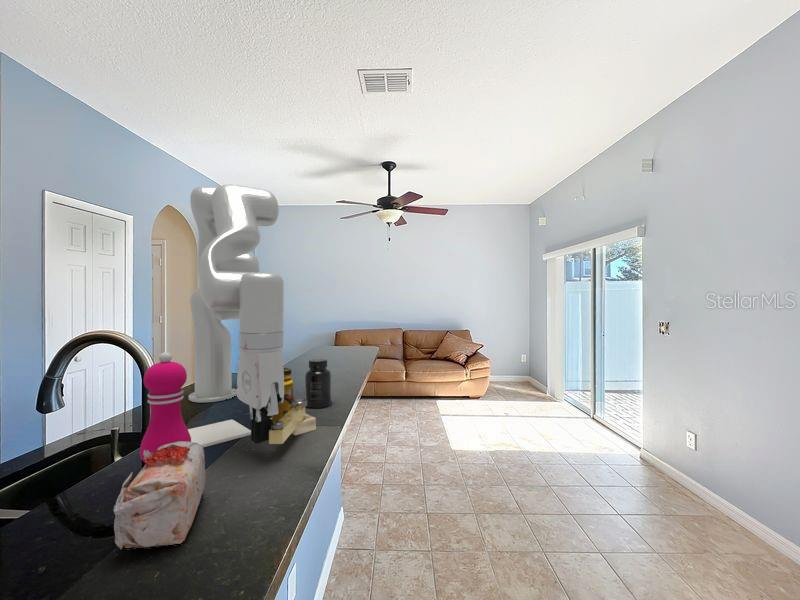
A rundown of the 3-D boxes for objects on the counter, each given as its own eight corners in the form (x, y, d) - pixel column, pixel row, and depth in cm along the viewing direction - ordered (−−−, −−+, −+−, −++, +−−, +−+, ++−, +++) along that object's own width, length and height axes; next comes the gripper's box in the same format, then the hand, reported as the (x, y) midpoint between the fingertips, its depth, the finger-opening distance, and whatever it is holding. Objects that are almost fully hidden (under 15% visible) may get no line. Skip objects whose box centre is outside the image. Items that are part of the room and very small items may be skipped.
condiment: (299, 422, 87) (298, 370, 87) (260, 429, 83) (260, 374, 82) (289, 413, 93) (288, 365, 93) (253, 420, 89) (252, 369, 88)
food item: (191, 550, 44) (190, 465, 43) (108, 567, 41) (106, 476, 41) (209, 492, 56) (208, 426, 56) (147, 501, 54) (146, 432, 54)
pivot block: (283, 429, 82) (283, 418, 82) (304, 423, 86) (303, 412, 86) (295, 435, 79) (295, 423, 79) (316, 429, 82) (315, 418, 82)
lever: (266, 443, 67) (266, 424, 67) (294, 414, 84) (294, 399, 84) (284, 443, 67) (284, 424, 67) (308, 414, 84) (308, 399, 84)
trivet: (178, 434, 80) (178, 431, 80) (232, 421, 87) (232, 419, 87) (195, 449, 72) (195, 446, 72) (252, 434, 79) (252, 431, 79)
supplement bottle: (336, 403, 102) (336, 359, 102) (318, 410, 96) (318, 363, 96) (318, 400, 105) (318, 357, 105) (299, 406, 100) (299, 360, 99)
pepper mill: (201, 468, 64) (200, 350, 64) (162, 488, 57) (161, 356, 57) (170, 461, 66) (168, 348, 66) (128, 481, 60) (127, 354, 59)
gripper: (224, 338, 71) (224, 433, 72) (260, 349, 61) (259, 461, 61) (263, 334, 77) (262, 424, 77) (301, 344, 66) (300, 447, 67)
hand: (261, 440), depth 69 cm, fingers closed
